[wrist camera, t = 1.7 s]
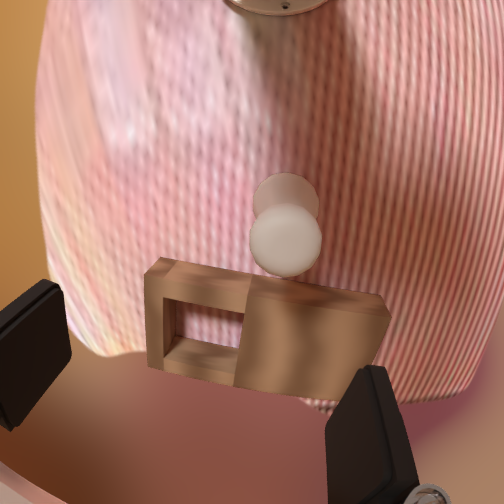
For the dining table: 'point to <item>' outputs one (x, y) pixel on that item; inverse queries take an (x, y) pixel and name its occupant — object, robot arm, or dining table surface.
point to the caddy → (264, 330)
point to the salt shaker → (285, 225)
